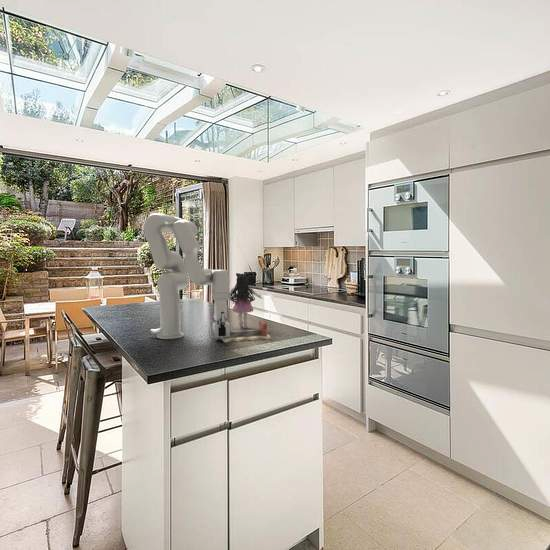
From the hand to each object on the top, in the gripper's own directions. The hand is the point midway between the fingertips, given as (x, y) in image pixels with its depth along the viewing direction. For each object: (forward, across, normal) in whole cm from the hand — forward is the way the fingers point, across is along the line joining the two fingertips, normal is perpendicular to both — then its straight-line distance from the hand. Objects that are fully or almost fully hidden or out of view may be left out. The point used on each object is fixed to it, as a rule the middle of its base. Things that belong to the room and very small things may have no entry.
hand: (221, 334), depth 172 cm
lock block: (+1, 0, 0) cm, 1 cm away
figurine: (+3, -25, +16) cm, 30 cm away
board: (+3, 0, +12) cm, 12 cm away
